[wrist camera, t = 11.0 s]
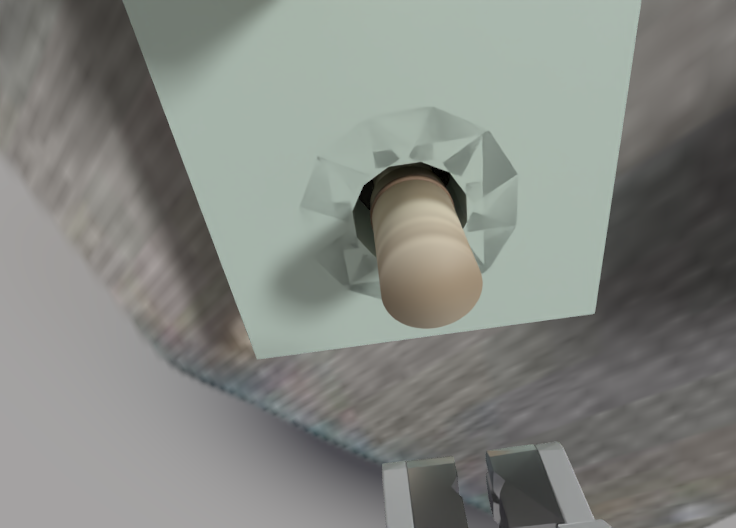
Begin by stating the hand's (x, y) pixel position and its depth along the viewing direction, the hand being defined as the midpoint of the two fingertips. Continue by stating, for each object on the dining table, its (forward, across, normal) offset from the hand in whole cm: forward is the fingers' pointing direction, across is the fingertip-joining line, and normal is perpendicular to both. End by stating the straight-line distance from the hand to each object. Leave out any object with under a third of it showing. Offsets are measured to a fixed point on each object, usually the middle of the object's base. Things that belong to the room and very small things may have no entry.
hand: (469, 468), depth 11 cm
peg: (+15, 0, 0) cm, 15 cm away
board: (+15, 0, -4) cm, 16 cm away
